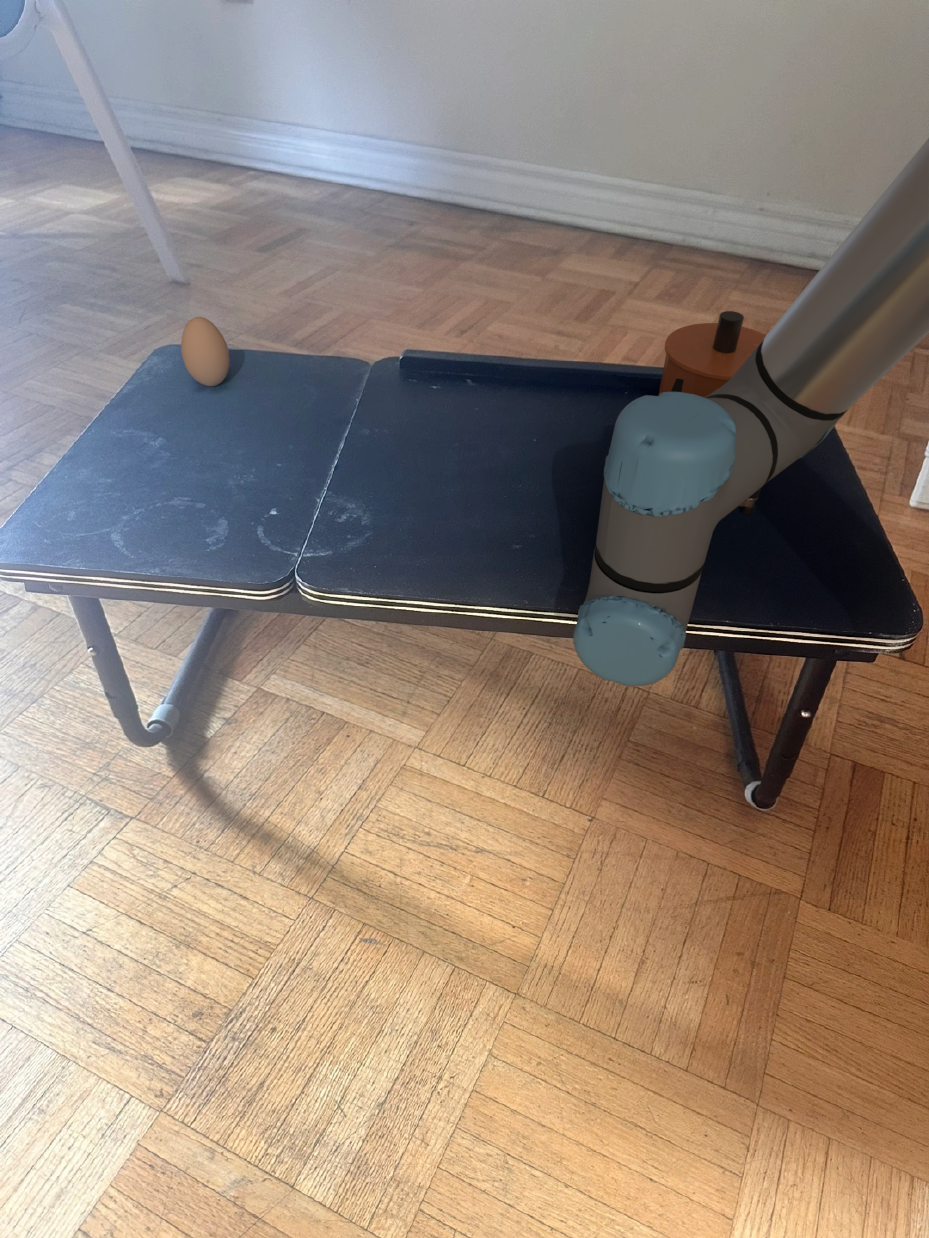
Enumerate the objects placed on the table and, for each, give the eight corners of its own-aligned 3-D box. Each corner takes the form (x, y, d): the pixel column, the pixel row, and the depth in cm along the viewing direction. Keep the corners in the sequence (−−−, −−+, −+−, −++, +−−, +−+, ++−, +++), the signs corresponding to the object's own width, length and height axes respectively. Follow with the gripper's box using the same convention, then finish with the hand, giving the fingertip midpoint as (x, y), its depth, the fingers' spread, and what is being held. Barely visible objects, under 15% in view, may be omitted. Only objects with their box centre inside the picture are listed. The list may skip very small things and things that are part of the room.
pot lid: (770, 335, 91) (781, 293, 87) (791, 389, 82) (805, 345, 79) (659, 330, 91) (666, 289, 88) (668, 383, 83) (677, 340, 80)
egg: (194, 399, 96) (177, 331, 90) (186, 379, 99) (169, 312, 94) (239, 390, 98) (225, 323, 92) (229, 370, 101) (215, 305, 95)
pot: (749, 400, 96) (768, 331, 90) (766, 454, 88) (788, 381, 82) (651, 396, 97) (664, 326, 91) (659, 449, 89) (673, 376, 83)
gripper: (551, 540, 72) (613, 413, 87) (768, 590, 67) (792, 446, 83) (558, 468, 67) (623, 346, 82) (793, 517, 62) (814, 378, 77)
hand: (708, 396), depth 82 cm, fingers closed on lemon, 5 cm apart
